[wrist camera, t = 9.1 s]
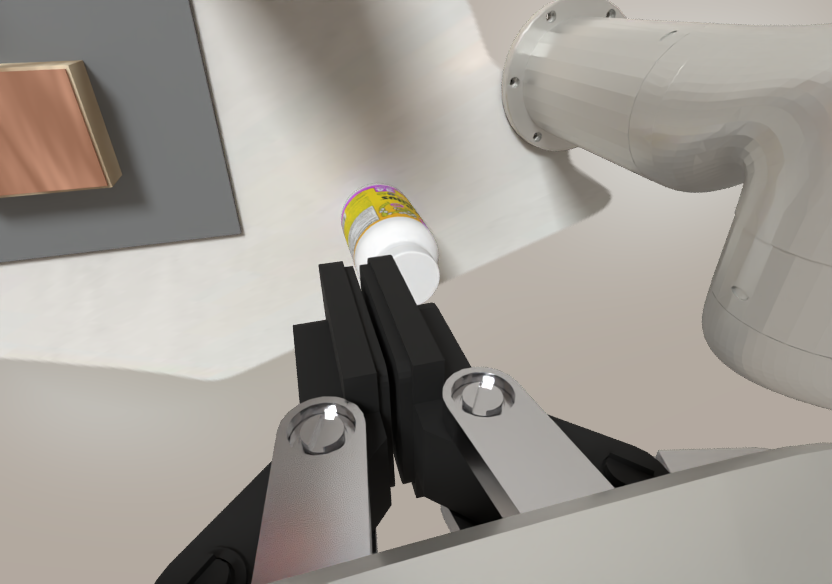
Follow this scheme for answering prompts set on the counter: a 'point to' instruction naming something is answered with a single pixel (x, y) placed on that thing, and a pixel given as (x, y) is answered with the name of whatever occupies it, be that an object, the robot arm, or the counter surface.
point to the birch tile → (52, 131)
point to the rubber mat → (124, 128)
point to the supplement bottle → (391, 236)
